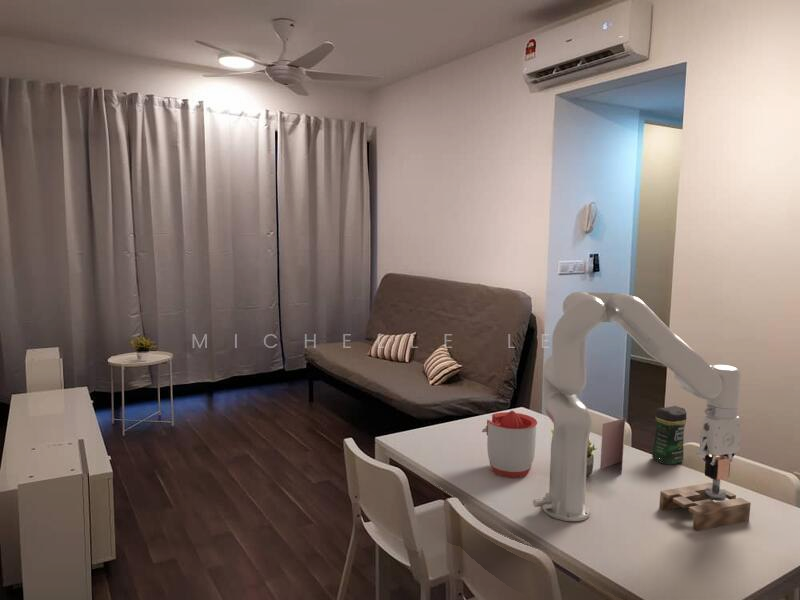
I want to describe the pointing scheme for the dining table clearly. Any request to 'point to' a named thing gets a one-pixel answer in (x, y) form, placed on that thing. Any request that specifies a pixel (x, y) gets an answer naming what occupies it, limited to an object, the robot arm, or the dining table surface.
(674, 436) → the coffee jar
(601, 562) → the dining table surface
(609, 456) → the greeting card
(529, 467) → the citrus juicer
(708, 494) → the keyhole peg
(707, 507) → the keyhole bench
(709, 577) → the dining table surface
